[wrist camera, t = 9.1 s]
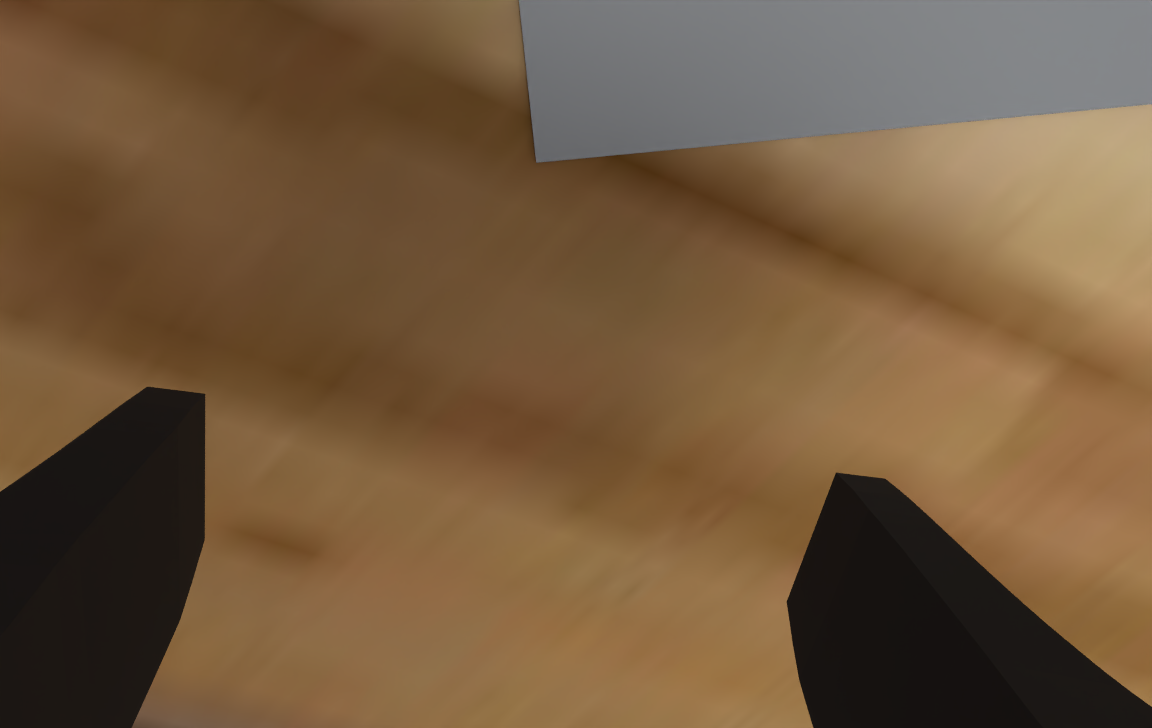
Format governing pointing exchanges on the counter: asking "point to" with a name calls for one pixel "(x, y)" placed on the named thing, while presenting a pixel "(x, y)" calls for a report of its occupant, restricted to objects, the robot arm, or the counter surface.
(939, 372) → the counter surface
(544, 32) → the lid
